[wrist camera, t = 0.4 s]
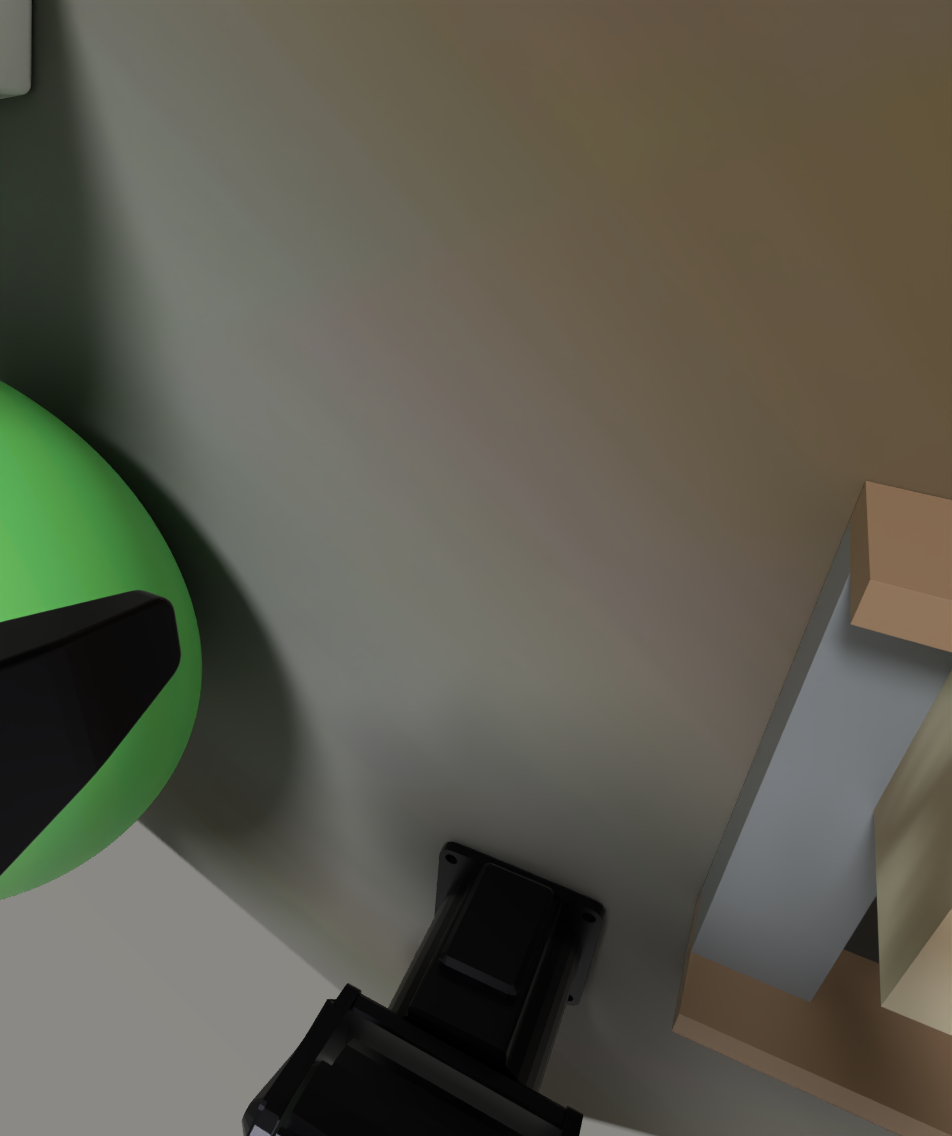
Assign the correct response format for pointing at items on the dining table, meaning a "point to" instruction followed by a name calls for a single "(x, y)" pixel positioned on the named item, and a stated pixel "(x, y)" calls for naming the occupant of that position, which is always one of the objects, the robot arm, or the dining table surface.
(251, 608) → the dining table surface
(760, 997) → the box
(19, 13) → the jar
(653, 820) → the dining table surface
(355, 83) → the dining table surface
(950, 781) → the block
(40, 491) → the toy bird
